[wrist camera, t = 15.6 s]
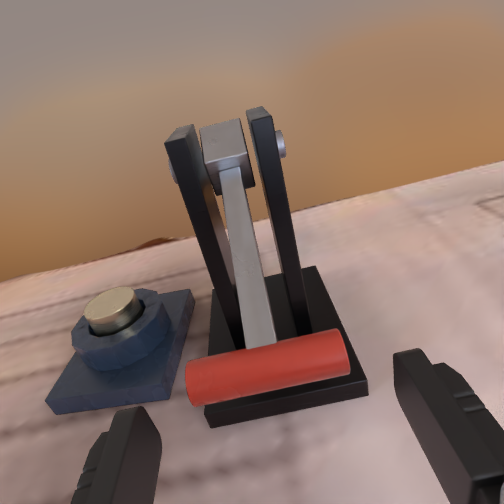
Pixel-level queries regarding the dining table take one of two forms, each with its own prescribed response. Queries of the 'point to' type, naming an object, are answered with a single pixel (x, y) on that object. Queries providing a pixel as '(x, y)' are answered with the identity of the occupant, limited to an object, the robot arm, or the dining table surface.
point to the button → (113, 311)
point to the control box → (126, 357)
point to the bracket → (278, 286)
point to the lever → (253, 297)
